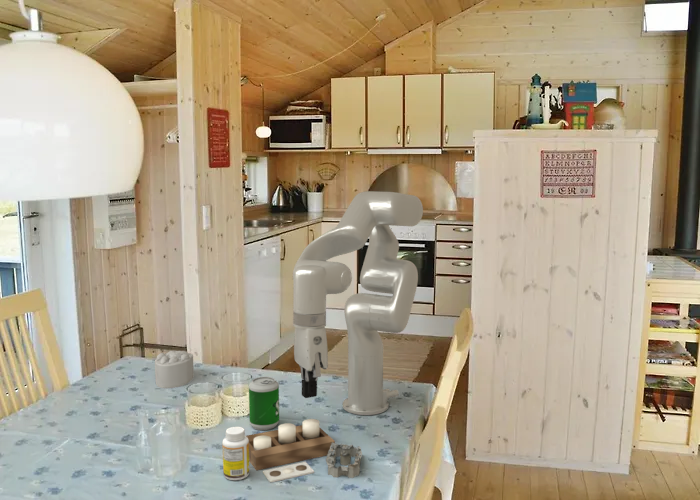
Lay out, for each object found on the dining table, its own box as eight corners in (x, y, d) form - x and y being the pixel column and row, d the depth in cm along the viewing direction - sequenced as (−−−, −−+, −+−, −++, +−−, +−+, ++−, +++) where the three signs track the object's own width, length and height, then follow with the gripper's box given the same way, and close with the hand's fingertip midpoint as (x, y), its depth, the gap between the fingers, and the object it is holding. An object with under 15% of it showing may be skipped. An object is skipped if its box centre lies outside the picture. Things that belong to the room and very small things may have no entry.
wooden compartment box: (314, 434, 162) (314, 422, 161) (335, 453, 151) (335, 441, 151) (240, 449, 153) (240, 436, 153) (256, 470, 143) (255, 457, 142)
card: (305, 463, 146) (305, 461, 146) (314, 472, 142) (314, 470, 142) (262, 472, 142) (262, 470, 142) (270, 482, 137) (270, 480, 137)
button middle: (292, 436, 155) (292, 422, 154) (298, 442, 151) (298, 428, 150) (276, 439, 153) (275, 425, 152) (282, 446, 149) (281, 431, 149)
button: (315, 431, 157) (315, 417, 157) (322, 438, 154) (322, 423, 153) (300, 434, 155) (299, 420, 155) (306, 441, 152) (306, 426, 151)
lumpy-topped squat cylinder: (197, 375, 206) (196, 348, 205) (182, 389, 194) (181, 361, 192) (165, 373, 208) (164, 347, 206) (148, 387, 195) (147, 359, 194)
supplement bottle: (238, 466, 145) (236, 422, 143) (254, 474, 141) (253, 429, 140) (217, 476, 140) (216, 430, 139) (234, 484, 137) (233, 437, 135)
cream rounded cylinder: (268, 448, 152) (267, 434, 152) (273, 455, 149) (273, 440, 148) (251, 451, 150) (251, 437, 150) (256, 459, 147) (256, 444, 146)
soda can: (274, 433, 163) (273, 386, 161) (245, 430, 164) (244, 384, 162) (283, 421, 170) (282, 376, 168) (255, 418, 171) (254, 374, 170)
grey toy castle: (358, 480, 139) (359, 462, 138) (323, 478, 140) (323, 460, 139) (363, 457, 150) (363, 440, 149) (331, 456, 150) (331, 439, 150)
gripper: (338, 324, 145) (337, 404, 148) (312, 311, 159) (311, 384, 161) (306, 327, 142) (306, 409, 144) (283, 314, 155) (283, 388, 158)
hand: (309, 396), depth 153 cm, fingers closed
